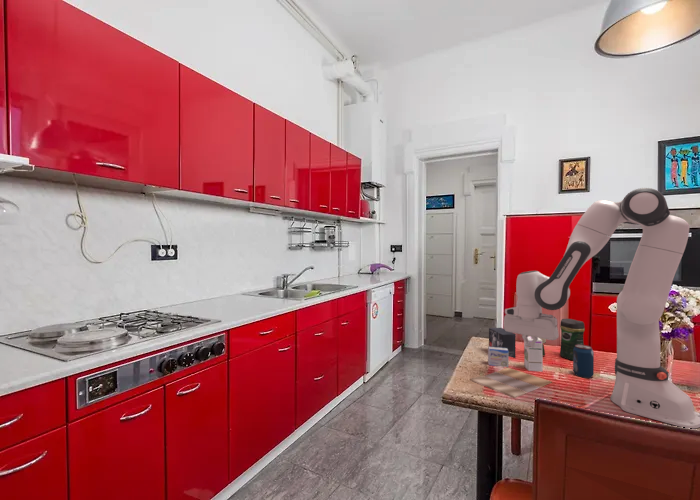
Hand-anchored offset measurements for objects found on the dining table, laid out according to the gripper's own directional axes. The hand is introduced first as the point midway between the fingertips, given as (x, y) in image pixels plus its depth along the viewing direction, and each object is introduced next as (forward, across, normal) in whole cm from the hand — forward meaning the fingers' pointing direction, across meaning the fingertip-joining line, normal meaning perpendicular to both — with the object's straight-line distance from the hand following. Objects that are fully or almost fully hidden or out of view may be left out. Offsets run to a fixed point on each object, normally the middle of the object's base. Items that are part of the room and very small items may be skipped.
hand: (530, 346), depth 132 cm
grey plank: (+13, +2, +11) cm, 17 cm away
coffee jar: (+14, +5, -44) cm, 47 cm away
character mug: (+14, +16, -34) cm, 40 cm away
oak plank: (+13, +2, +2) cm, 13 cm away
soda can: (+14, -8, -24) cm, 29 cm away
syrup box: (+14, +5, -10) cm, 18 cm away
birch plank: (+13, +2, +19) cm, 23 cm away
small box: (+13, +26, -20) cm, 36 cm away
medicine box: (+13, +16, -2) cm, 21 cm away
